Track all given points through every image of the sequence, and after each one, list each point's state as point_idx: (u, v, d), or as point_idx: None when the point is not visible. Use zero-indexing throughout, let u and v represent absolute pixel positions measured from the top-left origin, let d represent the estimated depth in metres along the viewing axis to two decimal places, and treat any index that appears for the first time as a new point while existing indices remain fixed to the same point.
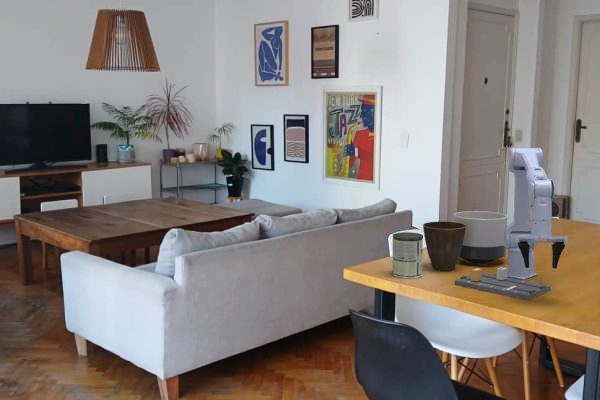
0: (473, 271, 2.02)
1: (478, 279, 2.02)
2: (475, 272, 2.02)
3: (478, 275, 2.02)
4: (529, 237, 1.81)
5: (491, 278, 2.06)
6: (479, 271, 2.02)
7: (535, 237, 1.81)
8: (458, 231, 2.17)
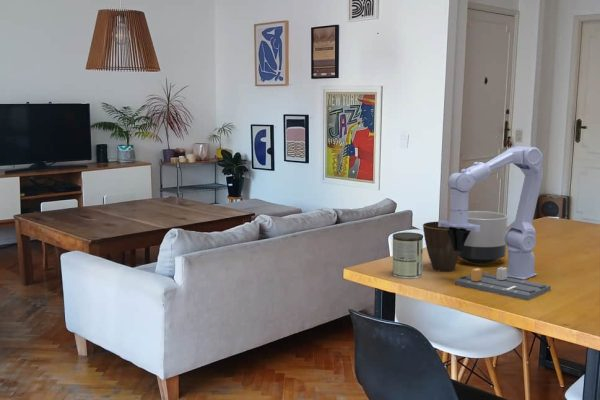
0: (473, 271, 2.02)
1: (478, 279, 2.02)
2: (475, 272, 2.02)
3: (478, 275, 2.02)
4: (446, 223, 2.07)
5: (491, 278, 2.06)
6: (479, 271, 2.02)
7: (449, 224, 2.06)
8: None
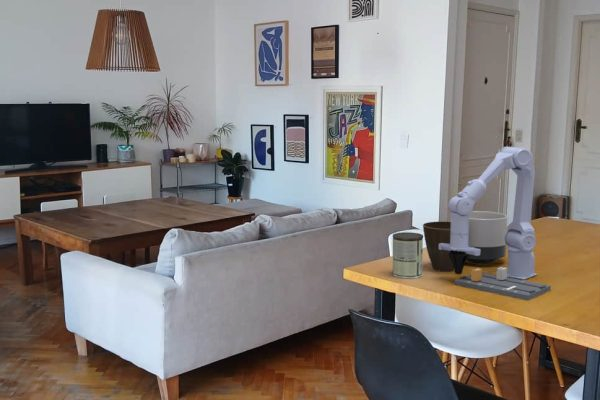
0: (473, 271, 2.02)
1: (478, 279, 2.02)
2: (475, 272, 2.02)
3: (478, 275, 2.02)
4: (446, 246, 2.08)
5: (491, 278, 2.06)
6: (479, 271, 2.02)
7: (449, 247, 2.07)
8: None
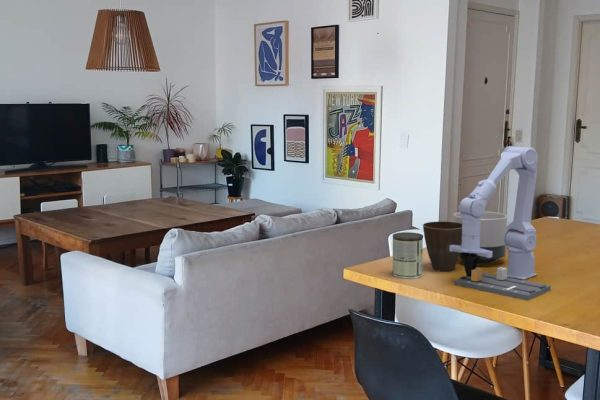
0: (473, 271, 2.02)
1: (478, 279, 2.02)
2: (475, 272, 2.02)
3: (478, 275, 2.02)
4: (457, 248, 2.05)
5: (491, 278, 2.06)
6: (479, 271, 2.02)
7: (460, 249, 2.04)
8: (458, 231, 2.17)
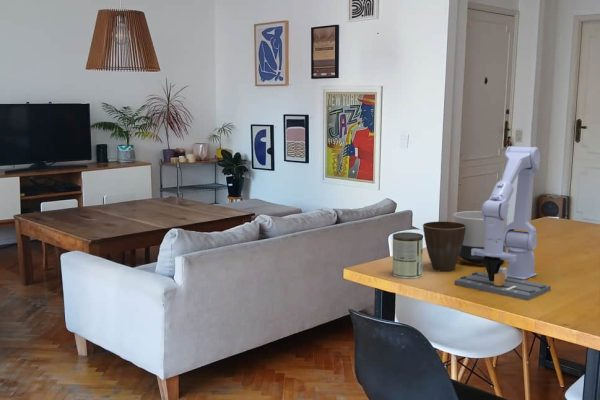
0: (496, 275, 1.96)
1: (501, 284, 1.97)
2: (498, 276, 1.96)
3: (501, 280, 1.96)
4: (479, 252, 1.99)
5: None
6: (502, 275, 1.97)
7: (483, 253, 1.98)
8: (458, 231, 2.17)
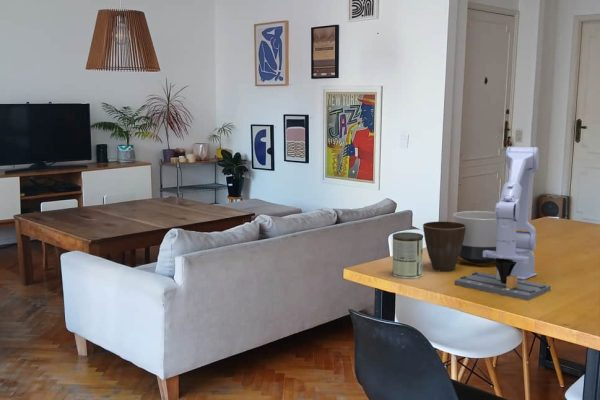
0: (508, 278, 1.93)
1: (514, 286, 1.94)
2: (510, 279, 1.93)
3: (514, 282, 1.93)
4: (491, 254, 1.96)
5: (491, 278, 2.06)
6: (515, 278, 1.94)
7: (495, 255, 1.95)
8: (458, 231, 2.17)
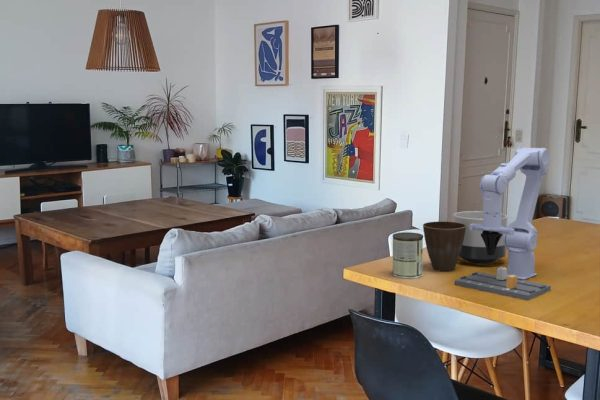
0: (508, 278, 1.93)
1: (514, 286, 1.94)
2: (511, 279, 1.93)
3: (514, 282, 1.93)
4: (478, 226, 2.02)
5: (491, 278, 2.06)
6: (515, 278, 1.94)
7: (481, 227, 2.00)
8: (458, 231, 2.17)
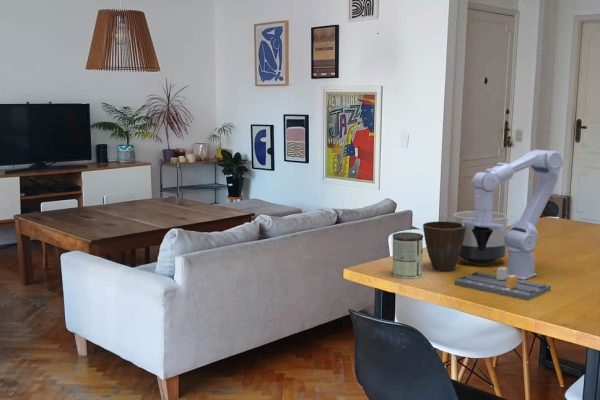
0: (508, 278, 1.93)
1: (514, 286, 1.94)
2: (511, 279, 1.93)
3: (514, 282, 1.93)
4: (469, 222, 2.08)
5: (491, 278, 2.06)
6: (515, 278, 1.94)
7: (473, 223, 2.07)
8: (458, 231, 2.17)
